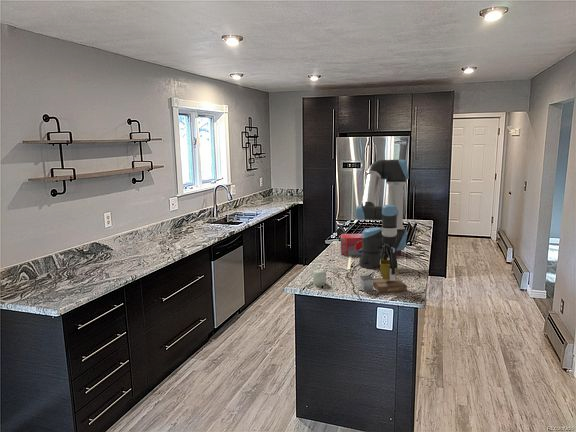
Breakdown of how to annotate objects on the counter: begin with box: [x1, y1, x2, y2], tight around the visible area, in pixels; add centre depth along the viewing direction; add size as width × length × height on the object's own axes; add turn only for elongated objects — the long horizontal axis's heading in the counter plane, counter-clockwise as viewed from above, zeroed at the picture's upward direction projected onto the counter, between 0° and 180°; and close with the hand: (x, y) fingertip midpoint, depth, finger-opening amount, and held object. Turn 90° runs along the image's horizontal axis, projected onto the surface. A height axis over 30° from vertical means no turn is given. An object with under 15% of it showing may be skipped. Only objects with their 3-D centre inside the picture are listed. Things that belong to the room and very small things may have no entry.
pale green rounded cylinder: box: [312, 269, 327, 287], centre depth 226 cm, size 7×7×7 cm
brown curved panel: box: [373, 276, 408, 294], centre depth 217 cm, size 14×14×3 cm
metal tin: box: [360, 275, 375, 293], centre depth 215 cm, size 5×5×7 cm
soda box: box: [340, 233, 403, 257], centre depth 286 cm, size 40×14×13 cm, turn 83°
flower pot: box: [379, 259, 399, 280], centre depth 216 cm, size 9×9×9 cm
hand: (388, 277), depth 217 cm, fingers closed on flower pot, 10 cm apart
